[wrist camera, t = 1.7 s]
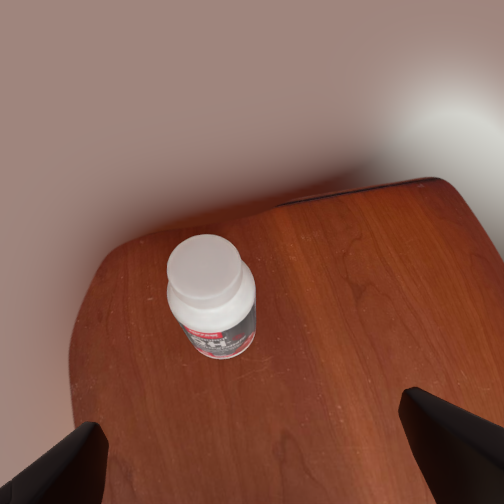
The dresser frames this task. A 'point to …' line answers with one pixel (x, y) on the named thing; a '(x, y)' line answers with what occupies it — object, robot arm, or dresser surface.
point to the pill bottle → (212, 295)
